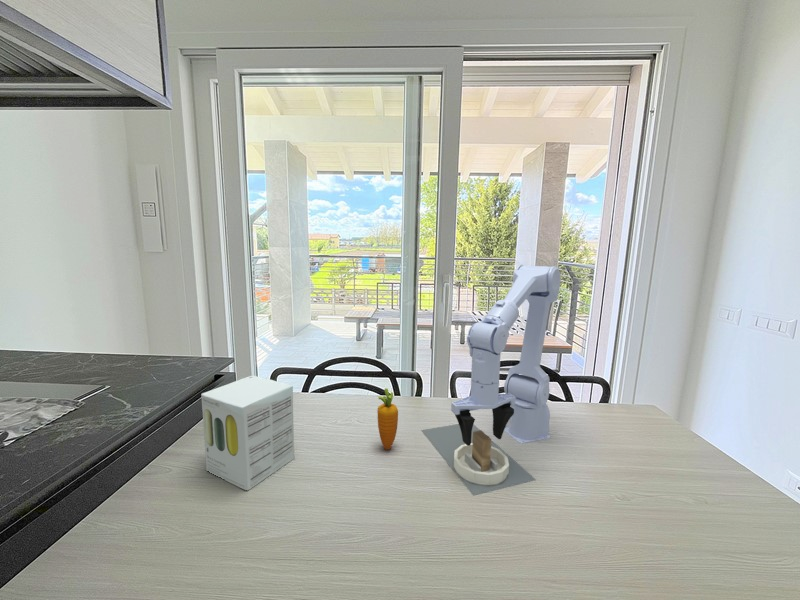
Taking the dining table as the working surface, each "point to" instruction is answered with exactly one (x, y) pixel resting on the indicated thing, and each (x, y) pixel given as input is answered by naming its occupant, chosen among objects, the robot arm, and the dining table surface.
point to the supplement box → (248, 430)
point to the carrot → (387, 420)
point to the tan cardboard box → (481, 450)
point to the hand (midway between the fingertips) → (482, 439)
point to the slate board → (451, 439)
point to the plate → (472, 470)
